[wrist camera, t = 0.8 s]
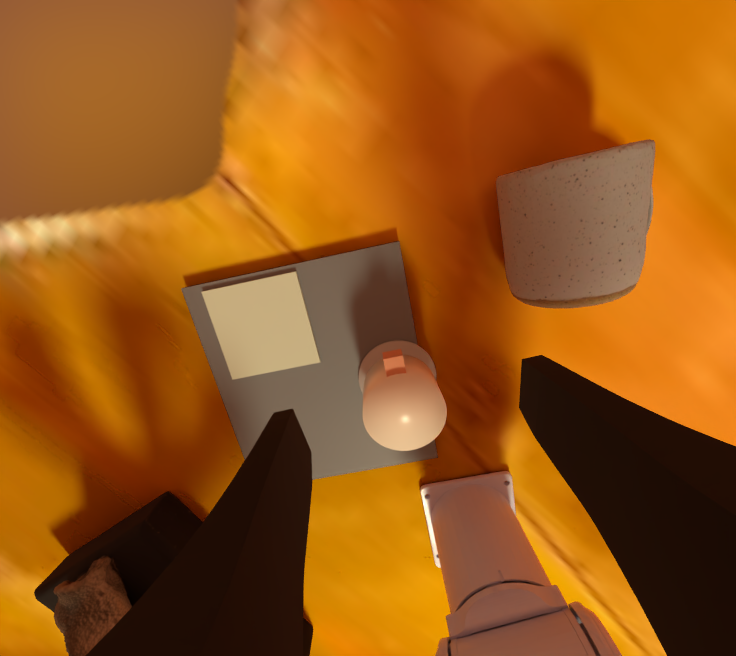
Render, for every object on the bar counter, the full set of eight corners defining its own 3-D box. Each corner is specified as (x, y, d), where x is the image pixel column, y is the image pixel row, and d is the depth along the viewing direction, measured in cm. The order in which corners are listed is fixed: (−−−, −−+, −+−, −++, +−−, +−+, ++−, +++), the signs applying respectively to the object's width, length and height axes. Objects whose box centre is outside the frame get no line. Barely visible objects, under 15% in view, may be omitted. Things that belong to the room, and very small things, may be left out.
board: (447, 449, 28) (455, 472, 26) (258, 482, 29) (247, 507, 27) (411, 238, 24) (417, 238, 21) (187, 286, 25) (164, 293, 22)
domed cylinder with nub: (440, 412, 24) (452, 442, 21) (371, 425, 25) (371, 457, 21) (427, 333, 23) (437, 351, 19) (353, 347, 23) (350, 368, 19)
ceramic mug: (493, 297, 25) (548, 325, 17) (477, 183, 23) (533, 158, 15) (635, 264, 24) (755, 277, 17) (634, 143, 22) (771, 98, 15)
